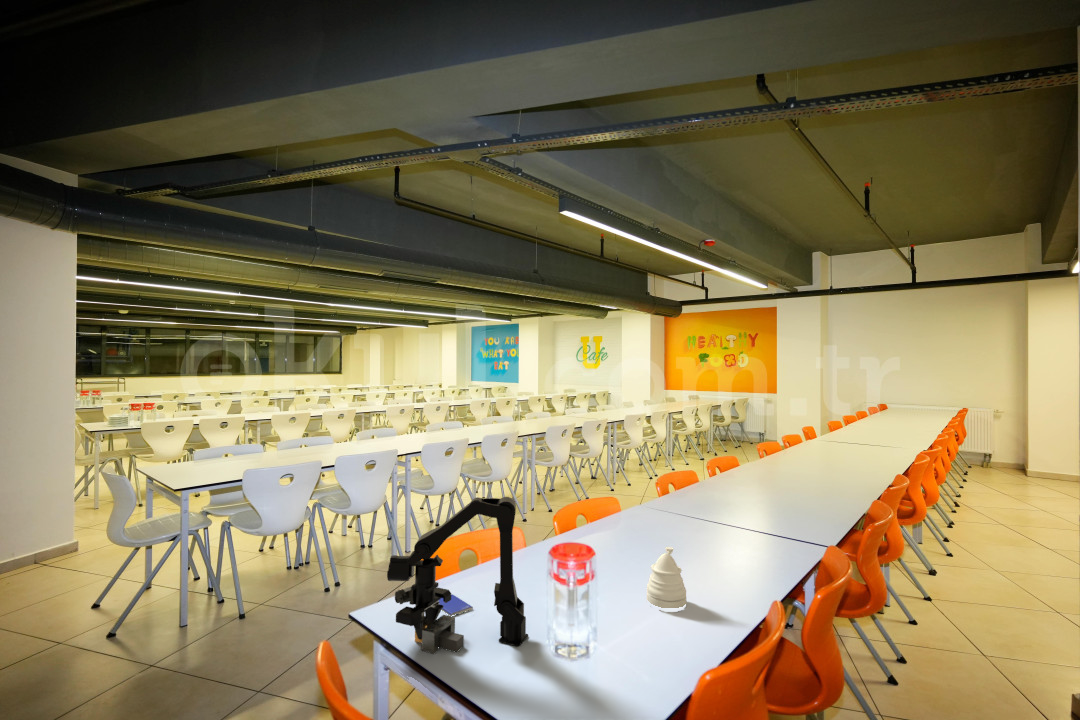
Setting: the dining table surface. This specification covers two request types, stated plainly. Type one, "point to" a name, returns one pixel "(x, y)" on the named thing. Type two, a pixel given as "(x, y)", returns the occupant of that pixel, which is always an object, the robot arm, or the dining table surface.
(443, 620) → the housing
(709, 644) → the dining table surface
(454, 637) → the plug
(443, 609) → the hard drive
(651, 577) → the honey pot
